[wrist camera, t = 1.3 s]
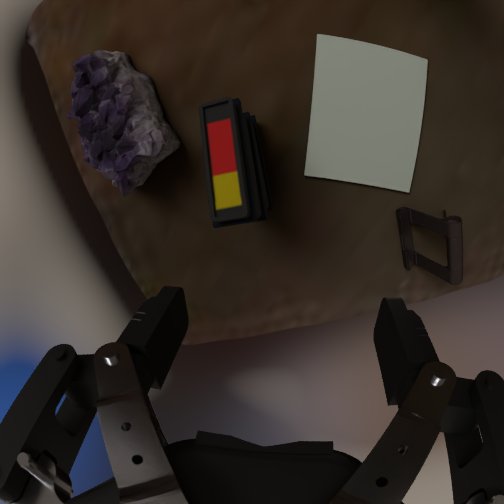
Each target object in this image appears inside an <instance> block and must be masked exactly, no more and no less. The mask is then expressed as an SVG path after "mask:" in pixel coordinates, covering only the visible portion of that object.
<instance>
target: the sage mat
mask: <svg viewBox="0 0 504 504" xmlns="http://www.w3.org/2000/svg"><path fill="white" fill-rule="evenodd" d="M427 62H428V60H427V59H424V58H421V57H417V56H414V55H411V54H408V53H405V52H401V51H398V50H394V49H390V48H387V47H383V46H379V45H375V44H370V43H366V42H361V41H356V40H351V39H346V38H340V37H335V36H328V35H321V34H317V44H316V59H315V72H314V84H313V96H312V107H311V117H310V127H309V137H308V146H307V155H306V164H305V173H304V175H306V176H313V177H321V178H328V179H334V180H341V181H347V182H354V183H360V184H366V185H371V186H377V187H382V188H388V189H393V190H398V191H403V192H408V193H409V191H410V186H411V182H412V177H413V172H414V167H415V162H416V156H417V150H418V144H419V138H420V132H421V125H422V117H423V109H424V100H425V90H426V78H427Z"/></svg>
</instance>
